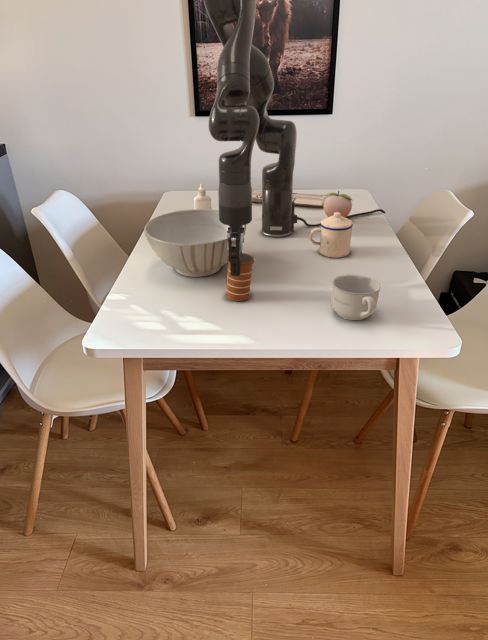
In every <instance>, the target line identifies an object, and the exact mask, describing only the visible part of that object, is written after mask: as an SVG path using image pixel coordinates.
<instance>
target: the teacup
mask: <svg viewBox="0 0 488 640" xmlns="http://www.w3.org/2000/svg"><path fill="white" fill-rule="evenodd" d="M331 284H332V286H331V295H330V304H331V305H330V306H331V307H332V309H333V311H334V312H335V313H336V314H337V315H338V316H339V317H341V318H343V319H345V320H349V321H361V320H364V319H366V318H367V317H369V316H372V315H373V314H374V313H375V311H376V309H377V306H378V301H379V297H380V292H381V283H379V281H377V280H375V279H373V278H371V277H368V276H364V275H359V274H343V275H339V276H336V277H335V278H333V279H332V281H331Z"/></svg>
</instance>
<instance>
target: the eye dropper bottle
mask: <svg viewBox="0 0 488 640" xmlns="http://www.w3.org/2000/svg"><path fill="white" fill-rule="evenodd" d="M206 189H207V188H206V187H204V185H203V183H200V185H199V187H198V188H197V195H195V196H194V198H193V209H209V210H213V209H212V198H211V196H210V195H208V194H207V192H206V191H207V190H206Z"/></svg>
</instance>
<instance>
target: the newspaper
mask: <svg viewBox="0 0 488 640" xmlns="http://www.w3.org/2000/svg"><path fill="white" fill-rule="evenodd" d="M325 195H326V194H315V193H314V194H313V193H299V192H292V201H294V203H295V206H309V207H321V208H322V207H323V208H324V201H325V199H326V198H327V197H328V196H329V195H327V196H325ZM252 203H259V204H262V190H254V189H252Z"/></svg>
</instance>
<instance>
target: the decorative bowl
mask: <svg viewBox="0 0 488 640" xmlns="http://www.w3.org/2000/svg"><path fill="white" fill-rule="evenodd" d="M228 227H230V226H228V225H224V224H222V223H221V222H220V220H219V209H212V210H209V209H194V208H193V209H184V210H183V209H181V210H176V211H171V212H167V213H164V214H160V215H158V216H156V217H154V218H152V219H150V220H149V221H147V223H146V224H145V225H144V229H143V232H144V235H145V238H146V240H147V242H148V245H150V247H151V249H152V250H153V252H154V254H155V255H157V257H158V258H159V259H160V260H161V261H162V262H163V263H164V264H166V265H168V266H169V267H171V268H173V269H175V271H176V272H177V273H178V274H180V275H182V276H185V277H192V278H200V277H208V276H211V275H213V274H215V273H218V271H220V269H221V267H222V266H224V265H225V264H226V263H228V260H227V258H228V255H229V251H228V238H227V231H228ZM243 227H245V232H246V230H247V224H246V225H243ZM232 254H233V253H232Z"/></svg>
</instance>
